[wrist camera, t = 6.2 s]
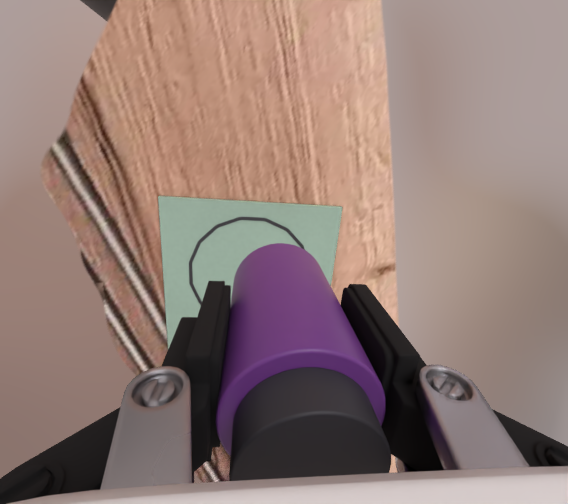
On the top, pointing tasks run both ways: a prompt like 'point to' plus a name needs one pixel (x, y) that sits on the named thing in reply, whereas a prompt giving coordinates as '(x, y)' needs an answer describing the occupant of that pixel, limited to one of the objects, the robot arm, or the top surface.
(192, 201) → the sketch card
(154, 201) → the top surface
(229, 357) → the cylinder
